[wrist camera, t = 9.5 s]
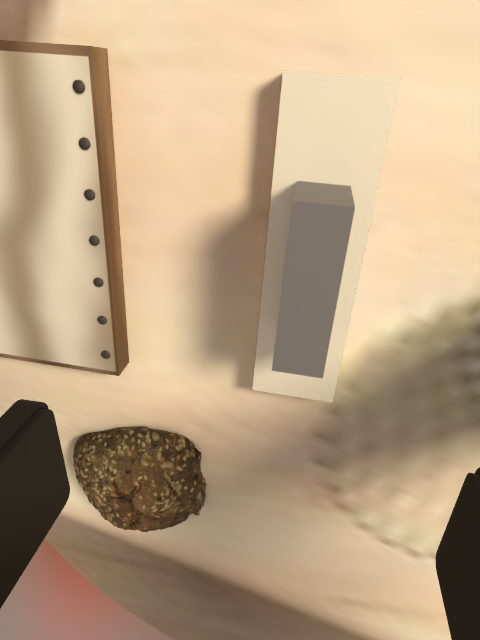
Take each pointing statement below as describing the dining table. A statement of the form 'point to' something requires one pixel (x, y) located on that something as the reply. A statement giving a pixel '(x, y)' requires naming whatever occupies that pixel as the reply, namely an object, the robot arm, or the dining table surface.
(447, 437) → the dining table surface
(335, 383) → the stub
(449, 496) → the dining table surface
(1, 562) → the robot arm
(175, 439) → the bread roll
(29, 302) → the light wooden flat board
